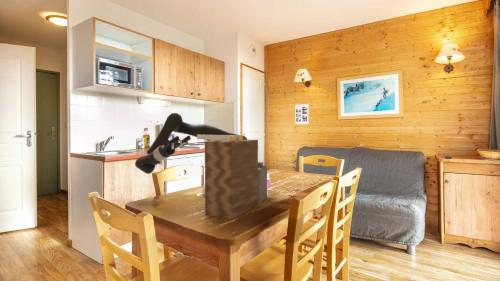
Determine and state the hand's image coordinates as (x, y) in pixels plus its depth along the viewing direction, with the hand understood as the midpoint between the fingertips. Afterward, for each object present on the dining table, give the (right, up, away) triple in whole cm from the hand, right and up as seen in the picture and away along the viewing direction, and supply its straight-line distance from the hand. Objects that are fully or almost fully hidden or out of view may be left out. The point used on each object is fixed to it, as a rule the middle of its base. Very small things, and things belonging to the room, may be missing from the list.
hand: (184, 137), depth 136 cm
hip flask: (+39, -33, +4) cm, 51 cm away
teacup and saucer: (+10, -33, +16) cm, 38 cm away
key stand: (+25, -34, -11) cm, 44 cm away
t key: (+19, -1, -16) cm, 24 cm away
